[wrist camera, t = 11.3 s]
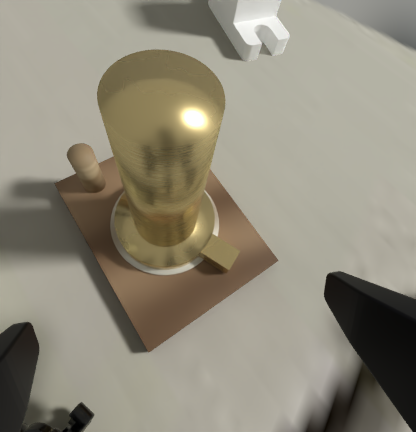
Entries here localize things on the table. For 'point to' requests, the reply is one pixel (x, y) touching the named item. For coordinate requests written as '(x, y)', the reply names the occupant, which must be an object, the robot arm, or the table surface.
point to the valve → (77, 422)
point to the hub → (164, 157)
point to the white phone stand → (251, 25)
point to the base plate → (154, 278)
